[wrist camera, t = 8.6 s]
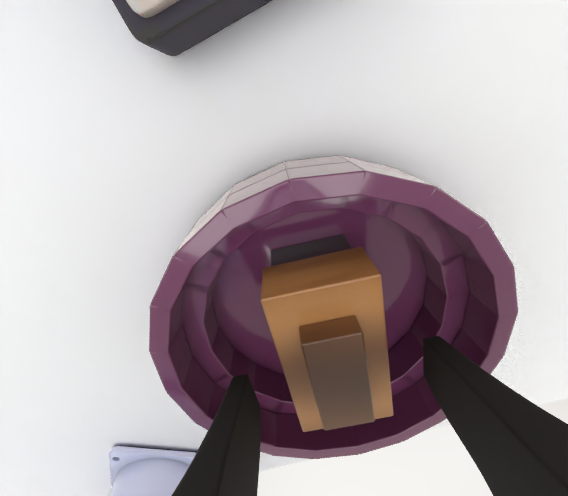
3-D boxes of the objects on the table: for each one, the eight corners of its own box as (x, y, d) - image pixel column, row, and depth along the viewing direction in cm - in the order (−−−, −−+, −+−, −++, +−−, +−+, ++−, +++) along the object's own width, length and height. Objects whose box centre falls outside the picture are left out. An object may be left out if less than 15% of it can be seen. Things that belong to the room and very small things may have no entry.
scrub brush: (364, 344, 17) (403, 438, 12) (295, 358, 18) (305, 456, 12) (348, 227, 14) (393, 290, 9) (263, 246, 14) (258, 318, 9)
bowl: (392, 398, 20) (422, 468, 16) (174, 373, 19) (147, 445, 14) (507, 192, 14) (602, 223, 10) (192, 120, 12) (152, 122, 8)
